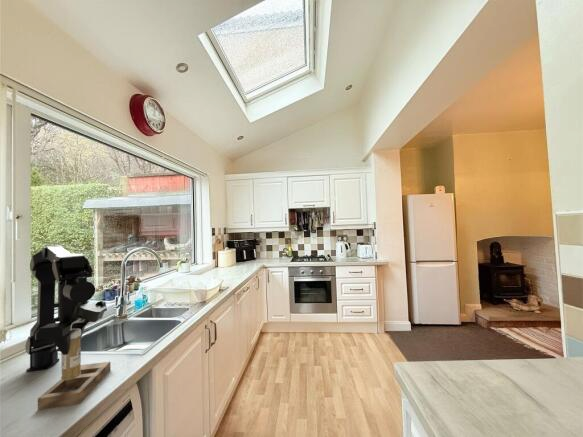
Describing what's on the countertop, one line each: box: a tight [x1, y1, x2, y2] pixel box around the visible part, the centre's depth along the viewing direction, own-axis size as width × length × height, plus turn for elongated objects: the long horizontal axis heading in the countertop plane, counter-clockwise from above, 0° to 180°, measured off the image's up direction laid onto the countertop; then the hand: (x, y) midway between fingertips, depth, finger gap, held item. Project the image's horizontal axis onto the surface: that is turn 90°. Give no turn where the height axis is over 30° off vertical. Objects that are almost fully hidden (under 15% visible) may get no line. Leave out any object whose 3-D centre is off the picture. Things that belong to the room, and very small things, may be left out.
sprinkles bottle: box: [60, 328, 82, 381], centre depth 76 cm, size 5×5×13 cm
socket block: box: [37, 361, 111, 411], centre depth 79 cm, size 10×17×3 cm, turn 11°
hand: (70, 350), depth 76 cm, fingers closed on sprinkles bottle, 4 cm apart
